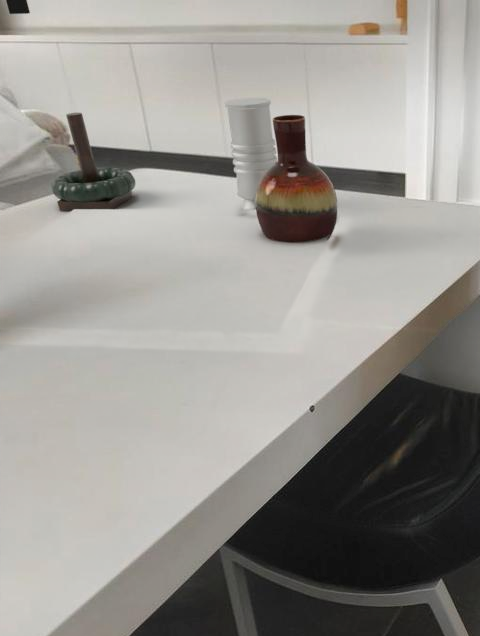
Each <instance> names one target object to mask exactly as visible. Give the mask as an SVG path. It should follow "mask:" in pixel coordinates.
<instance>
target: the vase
mask: <svg viewBox="0 0 480 636" xmlns="http://www.w3.org/2000/svg"><path fill="white" fill-rule="evenodd" d="M272 127H273V131H274V137H275V145H276V153H277V162H275V163H276V164H275V165H274V166H272V167H271V168H270V169H269V170H268V171H267V172H266V173H265V175H264V176H263V178H262V179H261V181H260V183H259V186H258V189H257V192H256V201H255V204H256V209H255V212H256V217H257V221H258V224H259V227H260V229H261V231H262V233H263V235H264V236H265V237H266V238H267V239H269V240H271V241H275V242H280V243H306V242H311V241H316V240H320V239H323V238H326V237H327V240H326V241H328V240H329V239H330V237H331V236H332V235H333V232H334V231H335V227H336V224H337V218H338V197H337V193H336V190H335V187H334V185H333V183H332V181H331V179H330V178H329V176H328V175H327V174H326V173H325V172H324V170H322V169H321V168H320V167H319V166H317V165H316V164H315V163H313V162H310V161H309V159H308V155H307V142H306V117H305V116H304V115H301V114H284V115H278V116H275V117H273V118H272Z"/></svg>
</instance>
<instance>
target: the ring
mask: <svg viewBox="0 0 480 636" xmlns="http://www.w3.org/2000/svg"><path fill="white" fill-rule="evenodd" d="M96 170H97V174H98V178H99V182H91V183H84V180H83V176H82V173H81V169H78V170H74V171H70V172H66V173H63V174H61V175H59V176H57V177H55V178H54V179H53V180H52V182H51V190H52V193H53V195H54V196H55V198H57V199H59V200H65V201H69V202H94V201H101V200H108V199H112V198H116V197H119V196H123V195H125V194H127V193H128V192H130V191H131V190H132V191H133V189H135V187H136V179H135V177H134V175H133V174H132V173H131V171H129V170H128V169H125V168H124V169H123V168H119V167H96Z"/></svg>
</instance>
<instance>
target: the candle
mask: <svg viewBox="0 0 480 636" xmlns="http://www.w3.org/2000/svg"><path fill="white" fill-rule="evenodd" d="M271 101H272V100H271V99H270V98H266V97H244V98H243V97H241V98H235V99H230V100H227V101H225V102H224V105H225V107H226V108H227V114H228V115H227V116H228V121H229V128H230V135H231V136H230V137H231V142H230V148H231V150H232V151H231V157H233V159H232V165H233V166H234V167H233V172H234V173H235V174H236V184H237V185H236V189H237V196H238V197H239V198H241V199H244V200H243V203H242V207H241V208H242V210H256V204H255V201H256V192H257V189H258V186H259V183H260V181H261V179H262V178H263V176H264V175H265V173H266V172H267V171H268V170H269V169H270V168H271V167H272V166H274V165H275V164H276V163H277V162H278V156H277V155H276V154H277V148H276V139H274V138H273V126H272V119H271V110H270V105H271V104H272V102H271Z"/></svg>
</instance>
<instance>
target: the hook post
mask: <svg viewBox="0 0 480 636" xmlns="http://www.w3.org/2000/svg"><path fill="white" fill-rule="evenodd" d="M66 121H67V124H68V127H69V131H70V135H71V138H72V139H71V140H72V143H73V146H74V150H75V153H76V158H77V161H78V164H79V170H81V173H82V176H83V180H84V183H91V182H99V178H98V174H97V170H96V168H97V167H96V163H95V159H94V156H93V152H92V147H91V144H90V139H89V135H88V132H87V128H86V127H87V126H86V124H85V120H84V115H83V113H82V112H69V113H67V114H66ZM132 197H133V190H131V191H130V192H128V193H127V194H125V195H123V196H119V197H116V198H112V199H108V200H101V201H94V202H69V201H65V200H61V199H59V200H57V202H56V203H57V206H58V210H59V211H60V212H71V211H72V212H73V211H74V210H115V209H116V208H117V207H119V206H120V205H122V204H123V203H125V202H126V201H127V200H129V199H130V198H132Z"/></svg>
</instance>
